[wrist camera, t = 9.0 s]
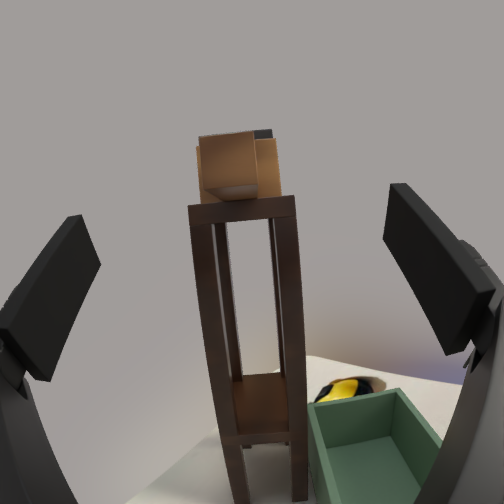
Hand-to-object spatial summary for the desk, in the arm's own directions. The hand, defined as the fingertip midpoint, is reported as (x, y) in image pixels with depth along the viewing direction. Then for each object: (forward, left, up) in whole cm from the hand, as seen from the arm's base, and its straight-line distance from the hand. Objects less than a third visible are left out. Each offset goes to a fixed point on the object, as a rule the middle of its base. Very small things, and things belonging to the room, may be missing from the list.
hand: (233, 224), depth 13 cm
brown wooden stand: (0, +16, -28) cm, 33 cm away
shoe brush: (0, +9, +2) cm, 9 cm away
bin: (+10, +8, -28) cm, 31 cm away
